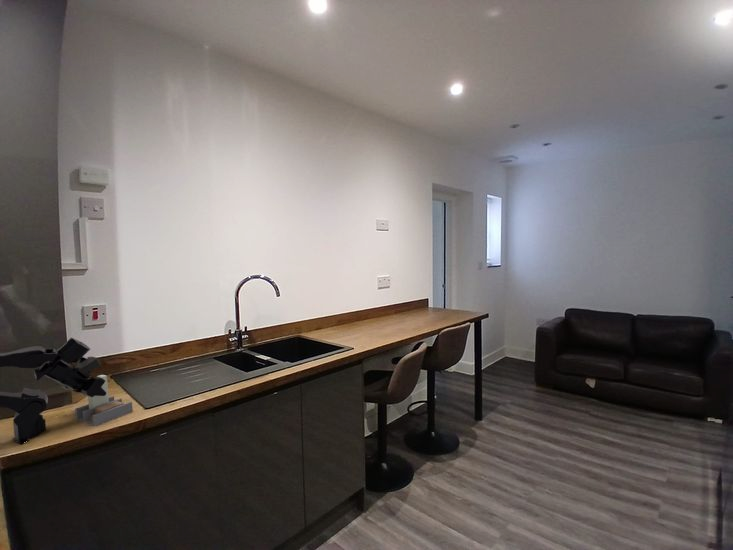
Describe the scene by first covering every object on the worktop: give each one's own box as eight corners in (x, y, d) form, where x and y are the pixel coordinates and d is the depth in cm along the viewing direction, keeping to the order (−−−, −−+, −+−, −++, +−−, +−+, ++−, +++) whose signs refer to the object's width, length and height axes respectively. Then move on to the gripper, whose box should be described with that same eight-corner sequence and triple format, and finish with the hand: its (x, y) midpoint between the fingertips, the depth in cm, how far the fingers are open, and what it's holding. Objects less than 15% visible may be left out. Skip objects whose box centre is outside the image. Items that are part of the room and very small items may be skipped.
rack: (95, 428, 121) (94, 416, 121) (76, 420, 127) (75, 408, 127) (132, 413, 132) (131, 402, 131) (113, 406, 138) (112, 395, 137)
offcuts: (97, 423, 123) (96, 412, 123) (90, 420, 125) (89, 410, 125) (125, 412, 131) (125, 402, 131) (118, 409, 133) (118, 400, 133)
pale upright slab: (94, 416, 128) (91, 380, 127) (89, 415, 129) (86, 379, 128) (109, 411, 132) (106, 375, 131) (105, 409, 134) (102, 374, 133)
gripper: (96, 355, 121) (133, 376, 132) (68, 348, 130) (104, 369, 141) (70, 386, 115) (111, 406, 125) (42, 377, 124) (82, 397, 134)
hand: (102, 393), depth 132 cm, fingers closed on pale upright slab, 3 cm apart
